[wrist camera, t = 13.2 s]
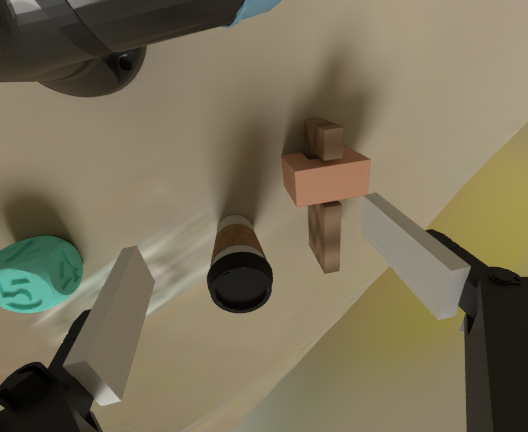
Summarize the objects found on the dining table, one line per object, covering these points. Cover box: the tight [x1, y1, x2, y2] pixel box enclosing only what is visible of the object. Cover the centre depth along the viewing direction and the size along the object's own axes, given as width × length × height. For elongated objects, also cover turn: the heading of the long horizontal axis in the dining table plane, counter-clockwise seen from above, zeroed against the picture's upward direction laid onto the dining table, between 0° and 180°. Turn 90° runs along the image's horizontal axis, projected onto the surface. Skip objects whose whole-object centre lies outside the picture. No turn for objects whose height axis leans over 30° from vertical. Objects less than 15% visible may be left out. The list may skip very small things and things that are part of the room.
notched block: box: [281, 145, 371, 207], centre depth 38 cm, size 10×5×8 cm, turn 96°
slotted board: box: [305, 118, 344, 274], centre depth 40 cm, size 22×2×8 cm, turn 6°
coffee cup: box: [207, 215, 273, 313], centre depth 38 cm, size 8×8×15 cm
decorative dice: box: [0, 236, 83, 313], centre depth 38 cm, size 8×8×8 cm
